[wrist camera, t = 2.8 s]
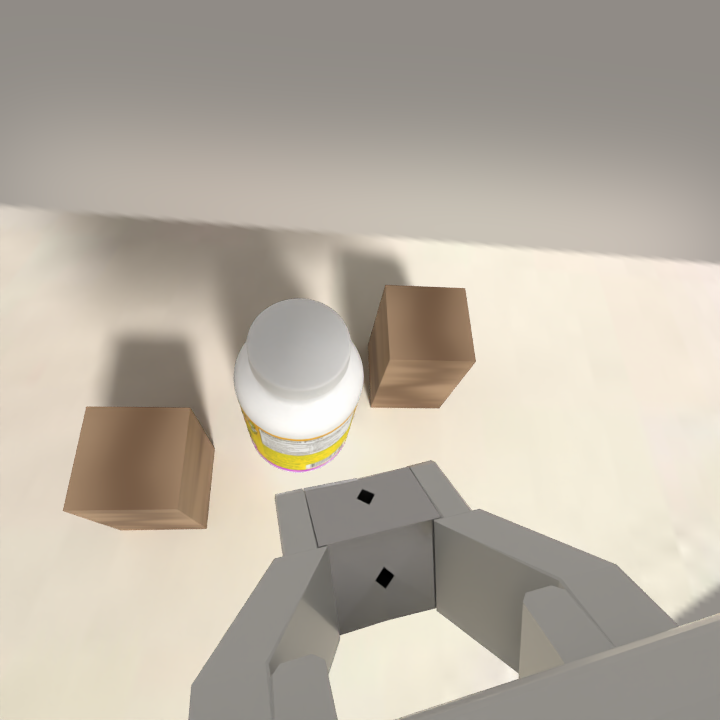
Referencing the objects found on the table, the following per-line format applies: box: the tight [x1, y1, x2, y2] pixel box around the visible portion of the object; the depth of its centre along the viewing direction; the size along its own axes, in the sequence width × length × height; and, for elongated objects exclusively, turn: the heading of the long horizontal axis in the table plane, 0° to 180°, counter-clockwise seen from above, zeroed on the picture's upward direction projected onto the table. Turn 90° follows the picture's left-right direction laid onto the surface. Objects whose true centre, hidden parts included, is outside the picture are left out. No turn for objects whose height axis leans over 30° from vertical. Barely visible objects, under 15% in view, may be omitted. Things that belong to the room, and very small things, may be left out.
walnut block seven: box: [368, 285, 476, 408], centre depth 32 cm, size 5×5×8 cm
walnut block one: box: [63, 407, 215, 530], centre depth 27 cm, size 5×5×8 cm
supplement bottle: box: [234, 298, 364, 473], centre depth 27 cm, size 7×7×13 cm
